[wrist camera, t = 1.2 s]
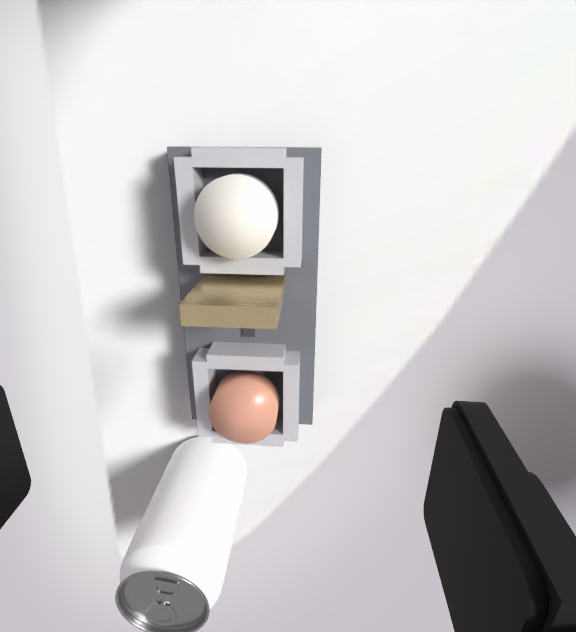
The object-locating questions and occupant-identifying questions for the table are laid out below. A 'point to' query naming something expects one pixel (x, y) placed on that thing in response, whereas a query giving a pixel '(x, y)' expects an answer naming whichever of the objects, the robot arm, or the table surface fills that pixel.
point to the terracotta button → (244, 407)
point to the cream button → (236, 215)
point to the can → (183, 539)
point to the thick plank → (234, 301)
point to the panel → (275, 259)
